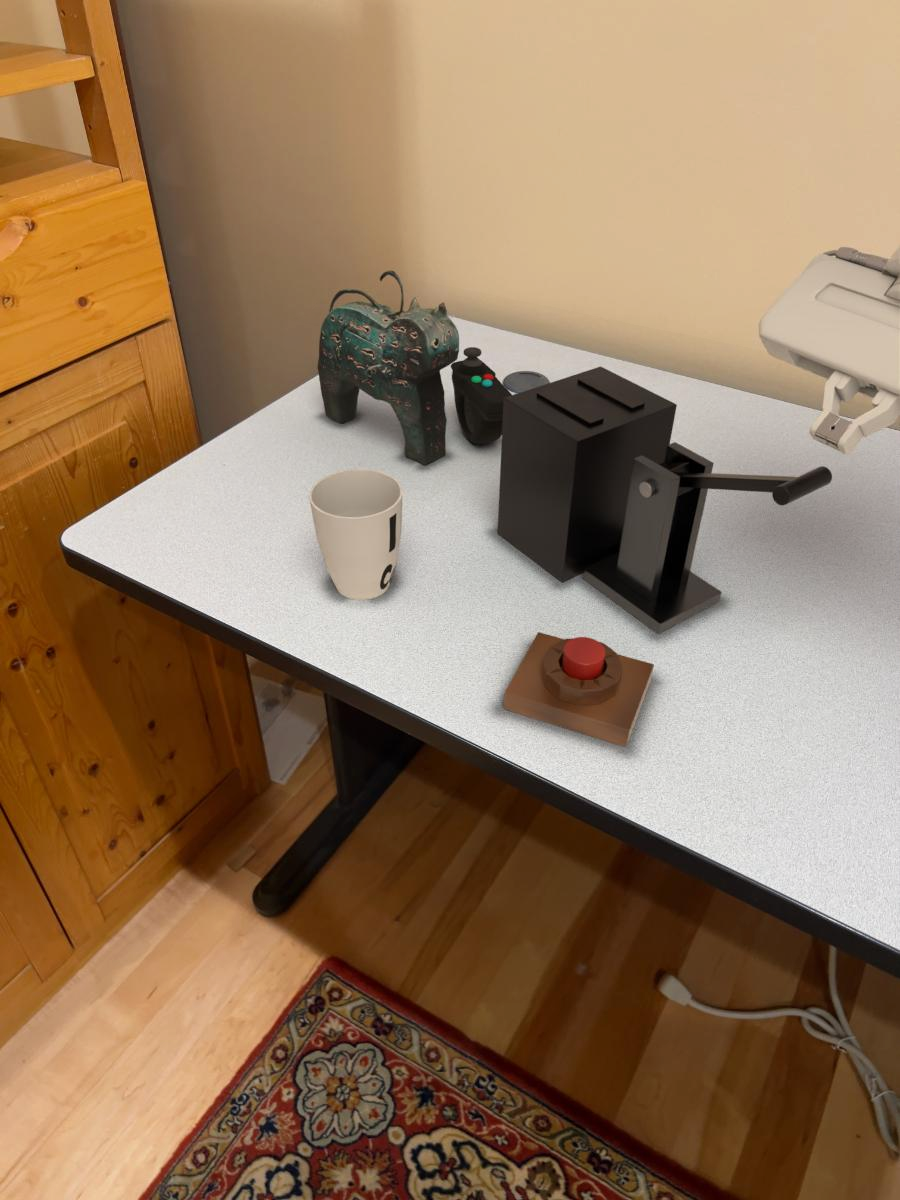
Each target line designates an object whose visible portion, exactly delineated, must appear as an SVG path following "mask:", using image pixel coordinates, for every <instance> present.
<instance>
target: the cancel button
mask: <svg viewBox="0 0 900 1200" xmlns="http://www.w3.org/2000/svg"><path fill="white" fill-rule="evenodd" d="M570 639H571V640H569V641H568V642H567V643H566V644H565V646H564V653H563V661H562V667H563V670H564V671H565V673H566V674H567V675H569V676H570V677H572V678H575V679H579V680H592V679H595V678H597V677H598V676H599V675H600V674H601V673H602V671H603V665H604V659H605V649H604V647H603V646H602V644H601V643H599V642H600V641H599V640H597V639H594V638H591V637H588V636H587V637H586V636H578V637H573V639H572V638H570Z"/></svg>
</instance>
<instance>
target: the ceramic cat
mask: <svg viewBox="0 0 900 1200" xmlns="http://www.w3.org/2000/svg"><path fill="white" fill-rule="evenodd" d="M387 276H391V277H393V278H394V279H395V280H396V282H397V284H398V286H399V288H400V294H401V295H400V296H401V297H400V298H401V300H400V308H399V311H396V310H394V309H392V308H390V307H389V306H387V305H385V304H382V303H378V302H377V301H376V300H375V299H374V298H373V297H372V296H371V295H369V294H367V293H366V292H365V291H364V290H360V289H355V288H354V289H353V288H345V289H342V290H338V291H337V293H335V295H334V296H333V297H332V300H331V302H330V306H329V309H328V314H327V315H326V317H325V318H324V320H323V322H322V324H321V326H320V332H319V333H320V334H319V340H318V341H319V342H318V361H317V373H318V381H319V385H320V394H321V399H322V401H323V408H324V411H325V416H326V417H327V418H329V420H332V422H335V423H337V424H342V425H343V424H345V423H346V422H349V421H352V420H354V419H355V418H356V417H357V410H358V409H357V408H358V401H359V400H358V399H359V394H360V391H362V392H363V393H364V394H367V395H368V396H369V397H371V398H373V399H374V400H377V401H383V402H385V403H388V404H389V405H390V407H391V408H392V410H393V412H394V413H395V416H396V417H397V420H398V422H399V424H400V426H401V428H402V433H403V438H404V455H405V458H408V459H410V460H414V461H416V462H418V463H419V464H421V465H423V466H427V465H430V464H432V463H434V462H435V461H438V460H439V459H441V458H442V457H444V456H446V431H447V423H448V420H447V413H446V410H445V409H446V408H445V407H446V406H445V405H446V402H445V389H444V385H443V382H442V381H443V380H442V375H441V370H443V369H445V368H446V367H448V366H451V364H452V363H454V362H457V360H458V357H459V353H460V334H459V330H458V328H457V326H456V325H455V324H454V321H452V319H451V318H450V316H449V315H448V310H447V307H446V305H445V302H441V303H439V304H438V305H437V306H436V307H435V308H429V307H428V308H427V307H426V308H422V307H420V305H419V302H418V301H417V298H416V296H414V297H413V298H412V300H411V301H410V303H409V308H408V310H407V311H405V310H404V304H405V303H404V300H405V299H404V287H403V283H402V280H401V278H400V277H399V275H398V274H397V272H395V271H394V270H387V271H384V272H383V273H382V274H381V275H380V277H379V281H380V282H382V281H383V279H385V278H386V277H387ZM345 294H357V295H360V296H362V297H364V298H365V299H367V300H368V301H369V302H366V301H360V300H359V301H358V300H357V301H351V302H348V303H346V304H343V305H341V306H338V307H337V306H336V307H335V308H334V306H335V303H336V302H337V301H338V300H339V298H340V297H342V296H343V295H345Z"/></svg>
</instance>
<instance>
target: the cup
mask: <svg viewBox="0 0 900 1200" xmlns="http://www.w3.org/2000/svg"><path fill="white" fill-rule="evenodd" d="M308 499H309V505H310V508H311V509H310V510H311V515H312V518H313V526H314V531H315V537H316V540H317V543H318V546H319V549H320V552H321V556H322V558H323V563H324V566H325V568H326V570H327V573H328V574H329V576H330V578H331V580H332V582H333V584H334V586H335V588H336V590H337V592H338V593H339V594H340V595H342V596H343V597H344V598H347V599H350V600H353V601H354V600H355V601H367V600H371V599H375V598H378V597H380V596H382V595H383V594H385V593H386V592H387V590H388V589H389V588H390V585H391V582H392V578H393V576H394V573H395V570H396V568H397V567H396V566H397V563H398V557H399V549H400V543H401V538H402V531H403V530H402V529H403V528H402V527H403V526H402V525H403V487H402V484H401V483H400V482H399V481H398V480H397V479H396V478H395V477H394V476H392V475H390V474H387V473H385V472H383V471H380V470H374V469H367V468H355V469H354V468H353V469H345V470H341V471H340V470H339V471H336V472H334V473H330V474H327V475H326V476H323V477H322V478H320V479H319V480H317V481H316V482H315V483H314V484H313V485H312V487H310V490H309V494H308Z"/></svg>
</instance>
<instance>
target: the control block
mask: <svg viewBox="0 0 900 1200" xmlns="http://www.w3.org/2000/svg"><path fill="white" fill-rule="evenodd" d="M573 638H574V637H573ZM573 638H561V637H558V636H554V635H550V634H547V633H543V632H540V631H538V632H537V633H536V635H535V637H534V638H533V640H532V643H531V644H530V646H529V648H528V649H527V652H525V655H524V657H523V659H522V661H521V662H520V664H519V667H518V668H517V670H516V671H515V673H514V675H513V677H512V679H511V681H510V683H508V685H507V688H506V690H505V692H504V699H503V701H504V702H503V703H504V704H503V710H505V711H508V712H512V713H515V714H518V715H521V716H524V717H526V718H527V717H528V718H531V719H534V720H537V721H540V722H543V723H547V724H550V725H554V726H556V727H559V728H563V729H565V730H569V731H572V732H575V733H578V734H582V735H586V736H588V737H591V738H594V739H598V740H601V741H604V742H608V743H610V744H614V745H618V746H621V747H623V748H627V746H628V744H629V741H630V738H631V736H632V733H633V730H634V728H635V725H636V722H637V720H638V716H639V714H640V711H641V709H642V706H643V703H644V700H645V698H646V695H647V692H648V691H649V687H650V684H651V681H652V678H653V672H654V667H655V664H654V663H650V662H647V661H643V660H640V659H637V658H633V657H629V656H626V655H622V654H618V653H617V652H616V651H615V650H614V649H612V648H611V647H610V646H608V645H607V644H605V643H604V642H602V641H598V642H599V643H601V644H602V646H603V647H604V649H605V659H604V665H603V671H602V673H601V674H600V675H599V676H598V677H597V678H595V679H592V680H579V679H575V678H572V677H570V676H569V675H567V674H566V673H565V671H564V670H563V667H562V661H563V653H564V646H565V644H566V643H567V642H568V641H569V640H571V639H573Z"/></svg>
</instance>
